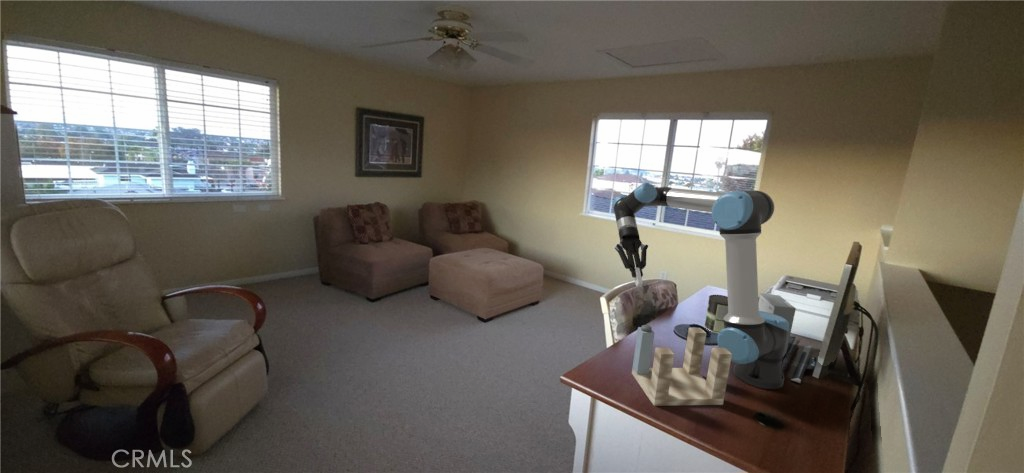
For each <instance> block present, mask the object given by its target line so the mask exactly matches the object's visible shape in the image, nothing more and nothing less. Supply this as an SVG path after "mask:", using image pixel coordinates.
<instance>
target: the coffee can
mask: <svg viewBox="0 0 1024 473" xmlns="http://www.w3.org/2000/svg"><path fill="white" fill-rule="evenodd" d="M727 314H728V295H727V296H726V295H722V294H711V295H709V296H708V302H707V308H706V314H705V320H704V329H705V328H706V329H705V330H707V329H708V330H709V332H710V331H711V333H714V334H717V335H718V334H719V333H720V332H721V331H722V329H724V321H723V318H724V316H726V315H727ZM708 330H707V331H708Z"/></svg>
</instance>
